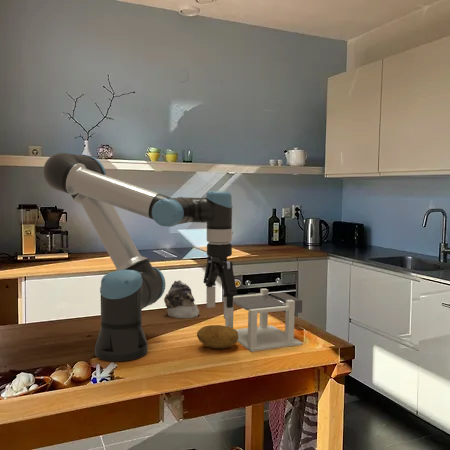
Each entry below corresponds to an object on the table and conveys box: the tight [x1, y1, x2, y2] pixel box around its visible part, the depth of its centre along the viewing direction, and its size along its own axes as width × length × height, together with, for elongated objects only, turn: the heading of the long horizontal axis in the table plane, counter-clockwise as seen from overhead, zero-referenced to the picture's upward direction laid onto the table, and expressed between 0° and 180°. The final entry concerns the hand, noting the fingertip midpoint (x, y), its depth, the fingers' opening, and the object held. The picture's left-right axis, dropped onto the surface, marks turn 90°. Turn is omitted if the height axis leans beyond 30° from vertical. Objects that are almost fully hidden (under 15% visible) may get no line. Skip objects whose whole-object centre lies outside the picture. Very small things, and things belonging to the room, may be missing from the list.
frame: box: [224, 288, 304, 353], centre depth 154 cm, size 18×20×14 cm
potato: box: [196, 324, 239, 350], centre depth 145 cm, size 9×13×7 cm
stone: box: [163, 279, 200, 319], centre depth 179 cm, size 14×10×15 cm
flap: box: [233, 292, 303, 314], centre depth 154 cm, size 20×14×4 cm
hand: (219, 312), depth 144 cm, fingers open, 13 cm apart
